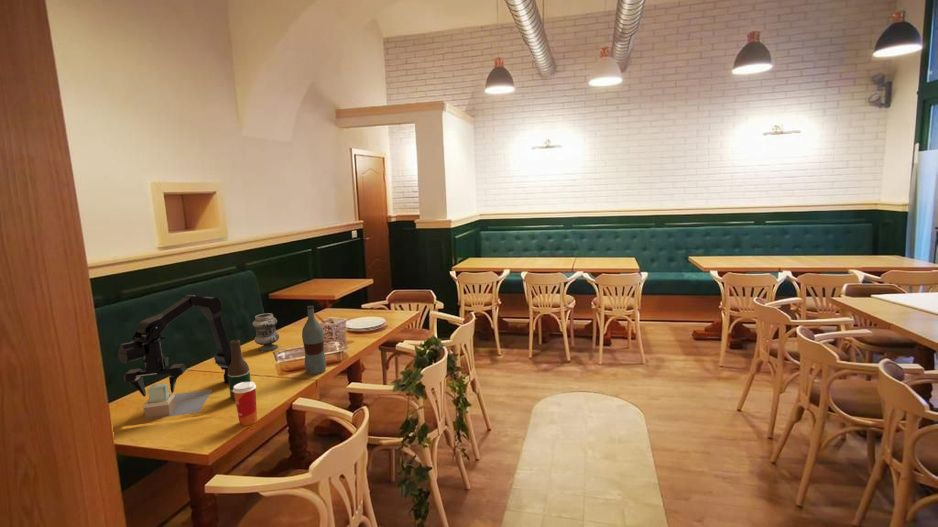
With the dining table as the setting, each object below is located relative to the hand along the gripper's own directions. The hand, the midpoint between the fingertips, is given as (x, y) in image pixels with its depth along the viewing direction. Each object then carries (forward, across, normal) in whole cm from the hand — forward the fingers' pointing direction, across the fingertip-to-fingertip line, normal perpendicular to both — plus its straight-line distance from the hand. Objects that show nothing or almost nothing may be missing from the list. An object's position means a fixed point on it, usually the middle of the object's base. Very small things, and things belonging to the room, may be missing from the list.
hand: (158, 394), depth 186 cm
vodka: (+8, -55, -26) cm, 61 cm away
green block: (+3, 0, 0) cm, 3 cm away
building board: (+8, -5, -6) cm, 11 cm away
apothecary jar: (+8, -29, -69) cm, 75 cm away
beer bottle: (+8, -27, -5) cm, 29 cm away
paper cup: (+8, -33, +18) cm, 39 cm away
